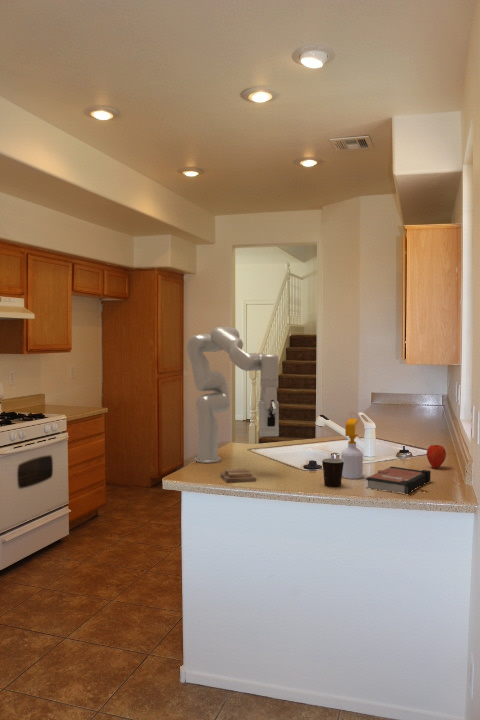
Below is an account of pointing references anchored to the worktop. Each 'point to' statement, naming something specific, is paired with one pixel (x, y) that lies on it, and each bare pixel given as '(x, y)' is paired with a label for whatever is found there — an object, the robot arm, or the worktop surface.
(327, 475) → the coffee mug
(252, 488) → the worktop surface
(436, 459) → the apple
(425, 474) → the book
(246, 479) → the plinth
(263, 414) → the skincare box
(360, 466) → the soap bottle
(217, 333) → the robot arm
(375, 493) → the worktop surface
